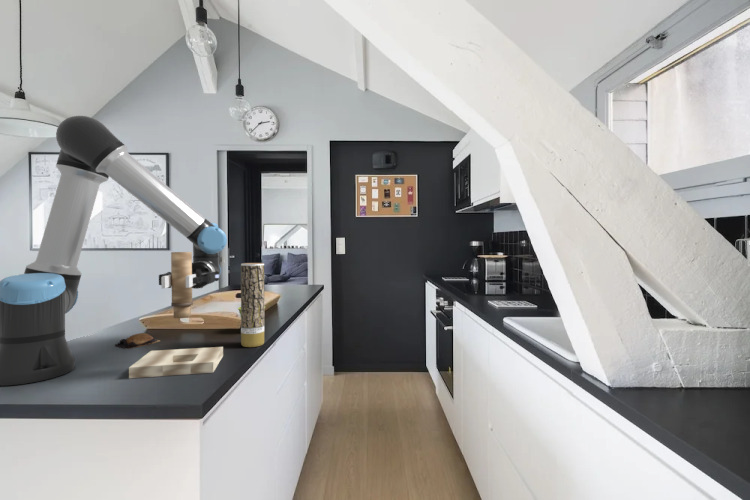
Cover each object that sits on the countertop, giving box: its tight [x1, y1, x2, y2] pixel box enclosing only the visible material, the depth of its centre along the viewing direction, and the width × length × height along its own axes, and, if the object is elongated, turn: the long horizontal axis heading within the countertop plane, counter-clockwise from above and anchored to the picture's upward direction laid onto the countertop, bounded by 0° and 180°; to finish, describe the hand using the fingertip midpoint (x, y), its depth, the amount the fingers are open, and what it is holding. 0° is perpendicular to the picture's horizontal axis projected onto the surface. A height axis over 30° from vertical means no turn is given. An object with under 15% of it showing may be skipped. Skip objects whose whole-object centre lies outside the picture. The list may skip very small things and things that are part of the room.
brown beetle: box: [114, 332, 161, 350], centre depth 116 cm, size 11×8×4 cm
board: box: [128, 346, 224, 379], centre depth 95 cm, size 18×14×2 cm
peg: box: [170, 251, 194, 319], centre depth 92 cm, size 5×5×16 cm
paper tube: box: [240, 262, 265, 348], centre depth 115 cm, size 7×7×25 cm
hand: (175, 282), depth 87 cm, fingers closed on peg, 4 cm apart
